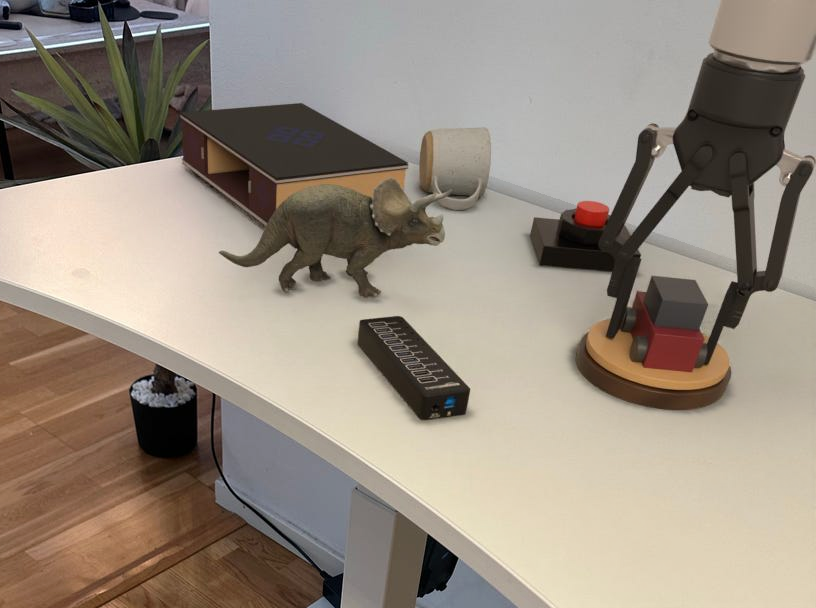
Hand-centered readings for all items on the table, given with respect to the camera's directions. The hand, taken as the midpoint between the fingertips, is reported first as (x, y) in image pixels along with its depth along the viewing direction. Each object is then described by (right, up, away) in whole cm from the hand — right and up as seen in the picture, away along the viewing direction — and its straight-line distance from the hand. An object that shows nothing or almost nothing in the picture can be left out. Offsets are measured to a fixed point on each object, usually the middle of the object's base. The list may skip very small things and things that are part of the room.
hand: (659, 344), depth 84 cm
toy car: (0, -1, +1) cm, 1 cm away
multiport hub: (-23, -4, -2) cm, 24 cm away
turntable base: (0, -2, +2) cm, 3 cm away
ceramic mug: (-15, +30, +33) cm, 47 cm away
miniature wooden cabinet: (-36, +28, +29) cm, 54 cm away
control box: (-1, +18, +22) cm, 28 cm away
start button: (-1, +20, +19) cm, 28 cm away
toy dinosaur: (-31, +9, +11) cm, 34 cm away
